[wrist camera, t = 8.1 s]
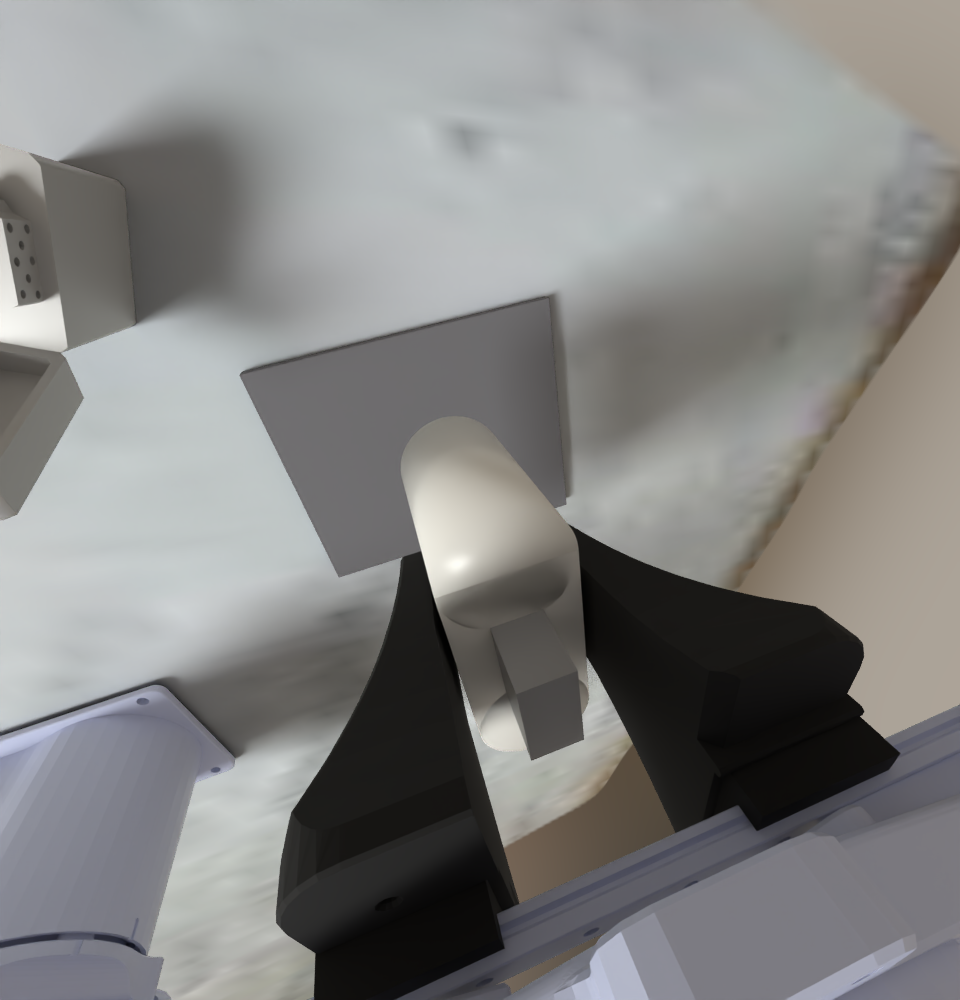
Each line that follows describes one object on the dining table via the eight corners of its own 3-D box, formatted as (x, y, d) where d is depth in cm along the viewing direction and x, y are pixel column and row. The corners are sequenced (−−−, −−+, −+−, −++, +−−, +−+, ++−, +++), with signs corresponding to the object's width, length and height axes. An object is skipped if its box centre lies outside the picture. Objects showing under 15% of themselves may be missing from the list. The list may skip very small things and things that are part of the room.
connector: (451, 629, 16) (509, 831, 10) (387, 433, 11) (429, 601, 6) (526, 603, 16) (622, 784, 11) (492, 403, 12) (623, 536, 6)
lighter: (47, 159, 12) (-323, 45, 5) (124, 182, 13) (-121, 105, 6) (83, 404, 15) (-124, 529, 8) (143, 413, 16) (-4, 535, 9)
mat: (339, 570, 21) (338, 577, 21) (241, 371, 16) (239, 375, 15) (562, 499, 23) (566, 504, 22) (544, 297, 17) (549, 298, 17)
